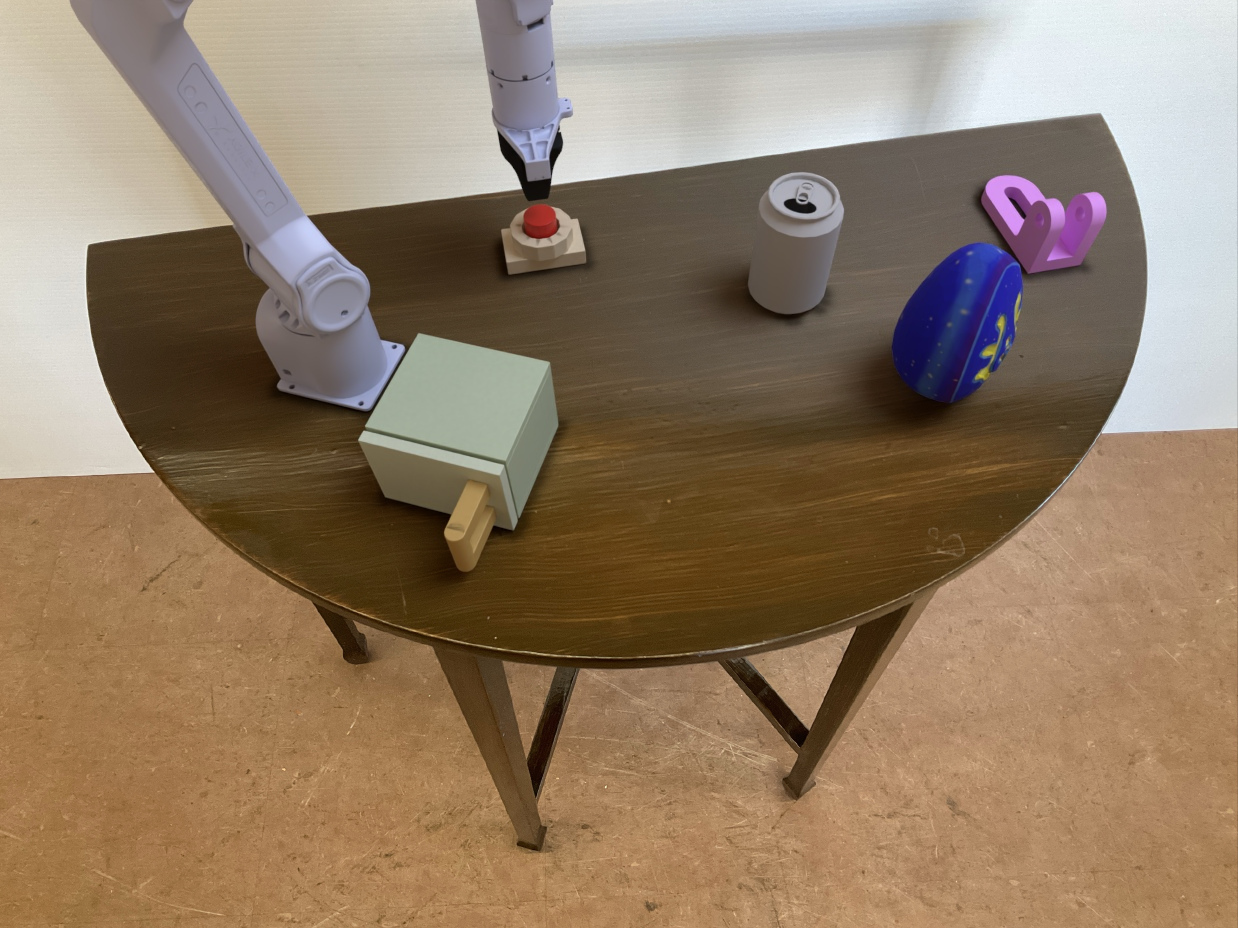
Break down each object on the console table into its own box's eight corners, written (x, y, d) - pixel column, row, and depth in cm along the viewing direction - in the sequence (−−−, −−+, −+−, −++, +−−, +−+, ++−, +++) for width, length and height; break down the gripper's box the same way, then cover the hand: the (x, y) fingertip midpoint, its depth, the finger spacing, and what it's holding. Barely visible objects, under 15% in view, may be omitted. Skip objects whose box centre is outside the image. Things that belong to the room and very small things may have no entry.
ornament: (952, 441, 74) (1015, 321, 61) (858, 390, 77) (900, 266, 65) (1007, 364, 79) (1076, 237, 66) (917, 319, 82) (966, 190, 69)
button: (527, 241, 85) (525, 228, 83) (523, 220, 86) (521, 206, 85) (559, 237, 85) (557, 223, 83) (554, 216, 87) (553, 202, 85)
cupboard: (519, 519, 71) (505, 460, 63) (391, 486, 73) (364, 426, 66) (558, 425, 76) (550, 361, 69) (438, 397, 78) (418, 332, 71)
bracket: (1080, 265, 85) (1112, 209, 80) (1028, 273, 85) (1056, 218, 79) (1021, 182, 93) (1046, 126, 87) (972, 190, 92) (994, 133, 86)
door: (489, 587, 67) (472, 536, 60) (356, 551, 69) (324, 497, 62) (518, 520, 70) (504, 464, 63) (390, 487, 72) (363, 430, 66)
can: (737, 308, 83) (750, 209, 73) (759, 258, 87) (774, 157, 77) (812, 328, 82) (836, 230, 72) (832, 276, 85) (857, 176, 75)
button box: (509, 278, 86) (504, 252, 83) (502, 238, 90) (497, 211, 87) (587, 267, 87) (585, 240, 84) (577, 227, 90) (575, 200, 87)
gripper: (581, 106, 67) (590, 240, 79) (555, 10, 75) (566, 144, 87) (492, 118, 67) (514, 251, 78) (475, 20, 75) (497, 153, 86)
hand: (537, 195), depth 82 cm, fingers closed
